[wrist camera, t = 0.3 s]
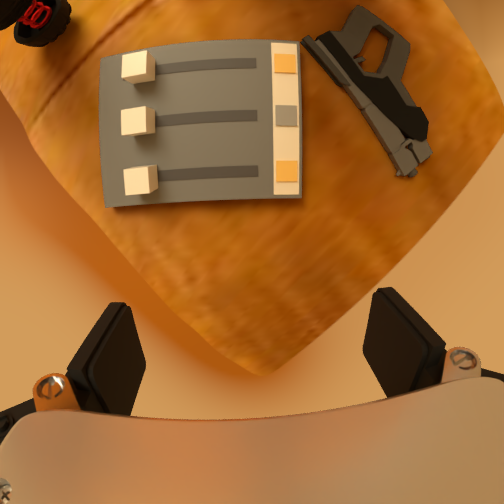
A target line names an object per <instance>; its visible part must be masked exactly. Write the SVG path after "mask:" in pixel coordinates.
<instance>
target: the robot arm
mask: <svg viewBox="0 0 504 504" xmlns="http://www.w3.org/2000/svg"><path fill="white" fill-rule="evenodd" d="M445 345H446V343H445V342H444V341H443V340H442V338H441V337H440V336H439V335H438V334H437V333H436V332H435V331H434V330H433V329H432V328H431V327H430V325H429V324H428V323H427V322H426V321H425V320H424V319H423V318H422V317H421V316H420V315H419V314H418V313H417V312H416V311H415V310H414V309H413V308H412V307H411V306H410V305H409V304H408V303H407V301H405V300H404V299H403V297H402V296H401V295H400V294H399V293H398V292H396V290H395V289H393V288H392V287H386V288H378V289H377V291H376V292H374V293H373V296H372V302H371V308H370V313H369V319H368V324H367V329H366V334H365V339H364V344H363V354H364V356H365V358H366V360H367V362H368V364H369V365H370V367H371V369H372V371H373V372H374V374H375V376H376V378H377V380H378V382H379V383H380V385H381V387H382V389H383V391H384V393H385V394H386V396H387V398H385V399H380V400H376V401H372V402H368V403H363V404H358V405H353V406H348V407H343V408H336V409H331V410H324V411H318V412H311V413H303V414H295V415H286V416H276V417H264V418H250V419H223V420H188V419H164V418H148V417H137V416H130V415H131V411H132V408H133V405H134V402H135V399H136V396H137V393H138V390H139V387H140V384H141V381H142V377H143V374H144V372H145V369H146V361H145V357H144V354H143V351H142V347H141V344H140V340H139V337H138V333H137V330H136V326H135V322H134V318H133V314H132V310H131V308H130V306H127V305H126V303H124V302H112V303H110V304H109V305H108V307H107V308H106V309H105V311H104V312H103V314H102V315H101V317H100V318H99V320H98V321H97V322H96V324H95V325H94V327H93V328H92V330H91V331H90V333H89V334H88V336H87V337H86V339H85V340H84V342H83V343H82V345H81V346H80V348H79V349H78V351H77V353H76V354H75V356H74V357H73V359H72V361H71V362H70V364H69V365H68V367H67V370H68V371H67V373H66V375H65V376H64V375H63V374H59V373H52V374H48V375H46V376H44V377H42V378H40V379H39V380H38V381H37V382H36V384H35V385H34V387H33V397H34V398H32V399H30V400H28V401H25V402H23V403H21V404H18V405H16V406H14V407H11V408H9V409H6V410H4V411H2V412H0V504H504V374H501V373H497V372H493V371H489V370H486V369H482V368H481V361H480V358H479V357H478V355H477V354H476V353H475V352H473V351H472V350H470V349H467V348H464V347H454V348H451V349H450V350H448V351H446V350H445Z"/></svg>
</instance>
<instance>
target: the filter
mask: <svg viewBox="0 0 504 504" xmlns="http://www.w3.org/2000/svg"><path fill="white" fill-rule="evenodd" d="M71 11H72V10H71V6H70V4H69V3H68V2H67V0H0V30H3V29H6V28H7V27H9V26H10V25H12V24H14V23H15V22H16V21H17V22H16V24H15V27H14V38H15V40H16V42H17V43H20V44H23V45H27V46H32V47H43V46H45V45H47V44H48V43H49V42H53V41H55V40H56V39H57V37H58V36H59V35H61V34H62V33H63V32H64V31H65V29H66V25H67V24H68V23H69V22H70V20H71V18H70V13H71Z"/></svg>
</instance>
